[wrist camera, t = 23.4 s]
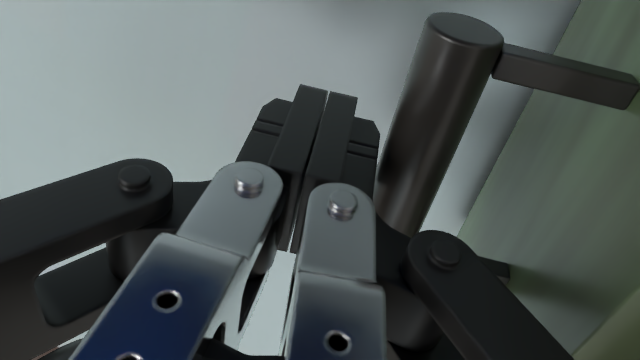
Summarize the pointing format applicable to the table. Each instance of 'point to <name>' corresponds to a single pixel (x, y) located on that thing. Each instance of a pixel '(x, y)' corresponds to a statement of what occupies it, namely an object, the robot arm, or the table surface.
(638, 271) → the green open box
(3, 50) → the table surface
